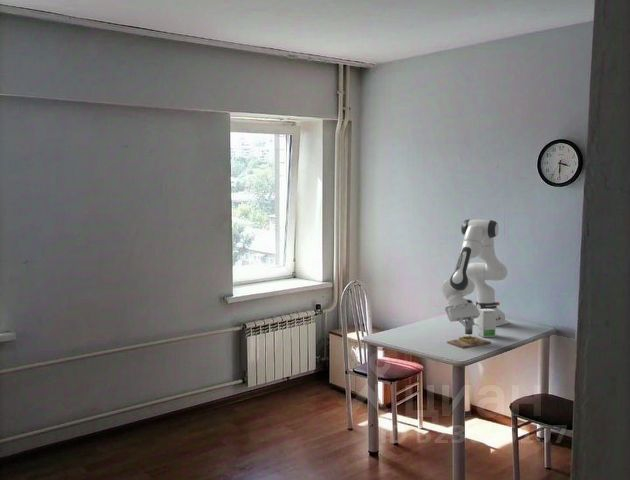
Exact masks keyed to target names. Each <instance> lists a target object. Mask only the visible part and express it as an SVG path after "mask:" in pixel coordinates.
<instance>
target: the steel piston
mask: <svg viewBox="0 0 630 480" xmlns="http://www.w3.org/2000/svg"><path fill="white" fill-rule="evenodd" d="M464 322H466V323H467V326H465V328H464V333H465V335H467V336H472V335H473V326H474V325H473V320H472V319H465V320H464Z"/></svg>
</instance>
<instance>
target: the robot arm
mask: <svg viewBox="0 0 630 480" xmlns="http://www.w3.org/2000/svg"><path fill="white" fill-rule="evenodd" d="M460 228H461V229H460V231H461V234H462V235H463V240H462V244H461V249H460V252H459V255H458V258H457V261H456V265H455V269H454V271H453V273H452V274H451V276H450V278H447V279H446V280H444V281H442V284H441V285H440V289H441V292H442V294H443V297H444V298H445V300H446V301H447V302H448V305H449V306H445V307H444V310H445V313H446V315H447V319H448V320H449V321H450V322H459V323H461V325H462V326H463V327H465V326H467V323H466V322H465V319H472V320H473V326H476V325H477V326H478V322H479V315H480V312H479V309H493V310H496V327H500V326H503V325H508V324H509V323H510V321H509V320H508V319H506V314H505V313H504V312H503V311H502V310H501V309H499V307H497V306H501V305H500V304H501V303H500V302H498V301H496V300H495V297H496V294H495V293H496V291H495V289H494V287H492V286H491V285H489V284H487V282H486V281H494V282H495V281H502V280H505V279H506V277H507V276H508V269H507V266H506V265H505V264H504V263H502V262H501V261H500V260H499V259H498V257H497V256H496V252H495V251H496V250H495V241H494V239H495V238H496V237H497V236H498V234H499V230H500V229H499V223H498V222H497V221H495V220H491V219H490V220H489V219H483V218H482V219H481V218H480V219H469V218H468V219H465V220H463V222H462V223H461V227H460ZM477 257H478V258H479V259H481V260H482V261H484V262H476V261H475V262H470V261H471V259H474V258H477ZM474 290H475V293H476V301H475V304H474V301H473V300H472V299H468V298H464V297H466V296H468V295H470V294H472V293H473V292H474Z"/></svg>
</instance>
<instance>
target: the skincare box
mask: <svg viewBox="0 0 630 480" xmlns="http://www.w3.org/2000/svg"><path fill="white" fill-rule="evenodd" d="M479 312H480V315H479V322H478V325H477V326H478V329H477V331H478V332H477V334H478V336H479V337H481V338H493V337H494V338H495V337H496V327H497V326H496V310H493V309H479Z"/></svg>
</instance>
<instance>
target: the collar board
mask: <svg viewBox="0 0 630 480" xmlns="http://www.w3.org/2000/svg"><path fill="white" fill-rule="evenodd" d="M446 343H447V344H448V345H451V346H455V347H458V348H459V349H460V348H461V349H467V348H472V347H478V346H484V345H489V344H491V341H490V340H487V339H483V338H482V337H481V338H480V337H478V336H472V335H465V336H459V337H458V338H457V339H452V340H447V341H446Z"/></svg>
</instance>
